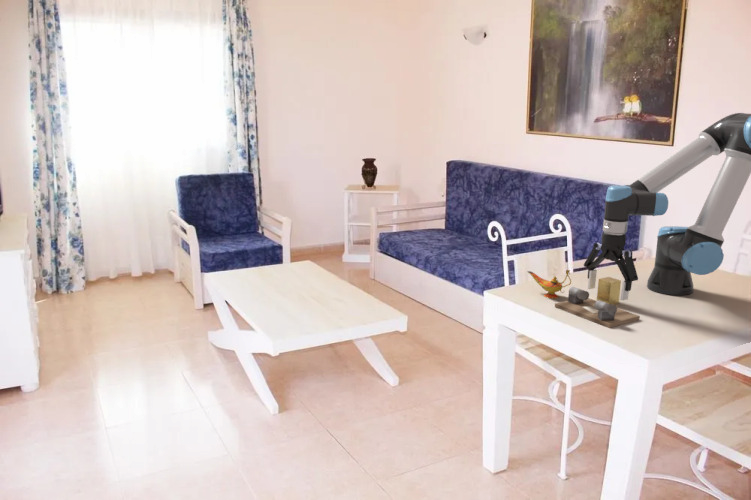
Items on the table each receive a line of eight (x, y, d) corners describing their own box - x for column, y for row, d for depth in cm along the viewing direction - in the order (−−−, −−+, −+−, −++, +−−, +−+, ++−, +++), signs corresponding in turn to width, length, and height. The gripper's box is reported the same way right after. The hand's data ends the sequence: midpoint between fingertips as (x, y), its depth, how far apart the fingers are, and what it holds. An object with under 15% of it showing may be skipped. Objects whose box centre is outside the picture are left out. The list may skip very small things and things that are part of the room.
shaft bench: (639, 319, 194) (641, 301, 192) (609, 327, 187) (610, 309, 185) (584, 300, 212) (585, 283, 210) (554, 306, 205) (556, 289, 204)
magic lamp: (532, 287, 226) (534, 258, 223) (575, 299, 213) (577, 268, 210) (520, 290, 222) (522, 261, 219) (563, 303, 208) (566, 272, 206)
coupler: (618, 303, 209) (621, 280, 207) (608, 305, 207) (610, 282, 205) (606, 299, 213) (608, 276, 211) (596, 301, 211) (598, 278, 209)
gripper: (577, 226, 212) (571, 285, 218) (639, 241, 192) (631, 306, 197) (592, 224, 216) (585, 282, 221) (654, 239, 195) (646, 302, 201)
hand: (607, 293), depth 209 cm, fingers open, 13 cm apart
